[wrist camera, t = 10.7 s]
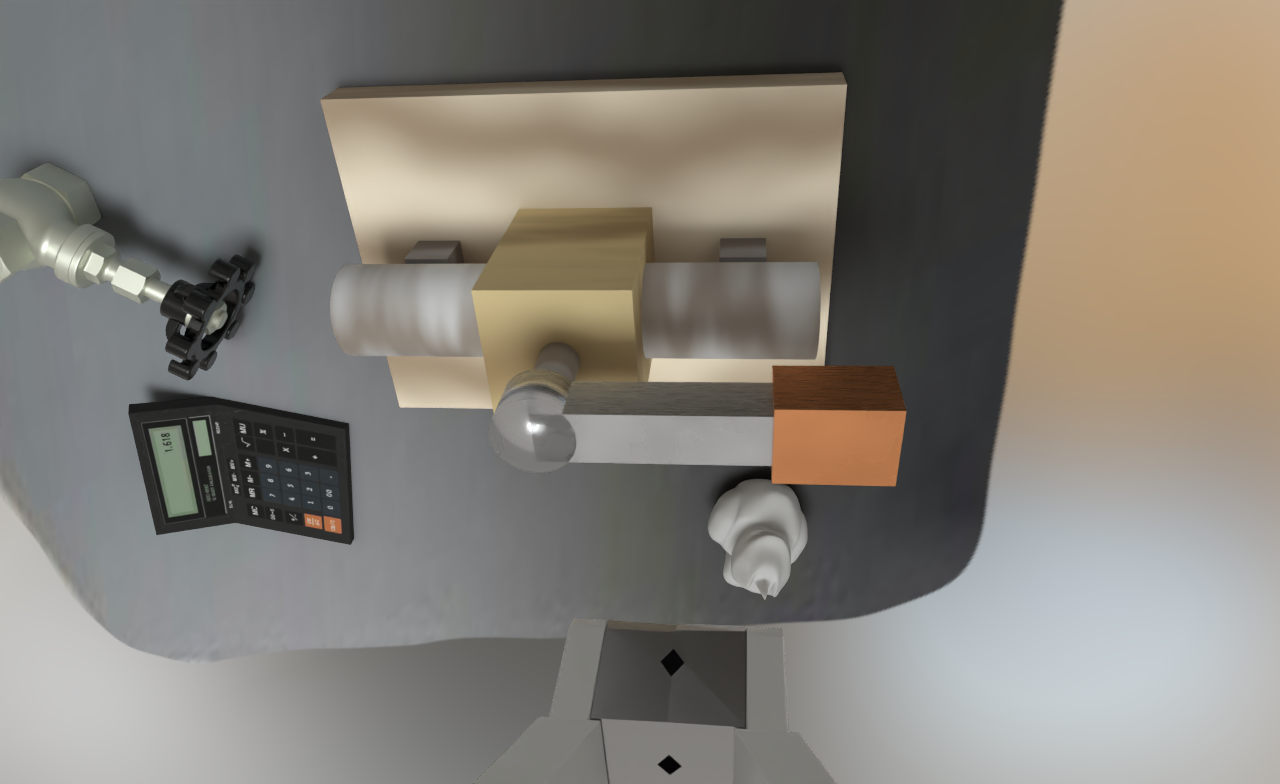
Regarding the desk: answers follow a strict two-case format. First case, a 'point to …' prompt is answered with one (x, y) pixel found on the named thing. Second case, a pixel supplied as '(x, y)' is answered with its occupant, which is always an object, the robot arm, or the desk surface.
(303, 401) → the desk surface
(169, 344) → the valve
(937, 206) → the desk surface
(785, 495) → the white meringue swirl
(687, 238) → the valve stand
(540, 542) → the desk surface
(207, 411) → the calculator
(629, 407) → the valve lever
